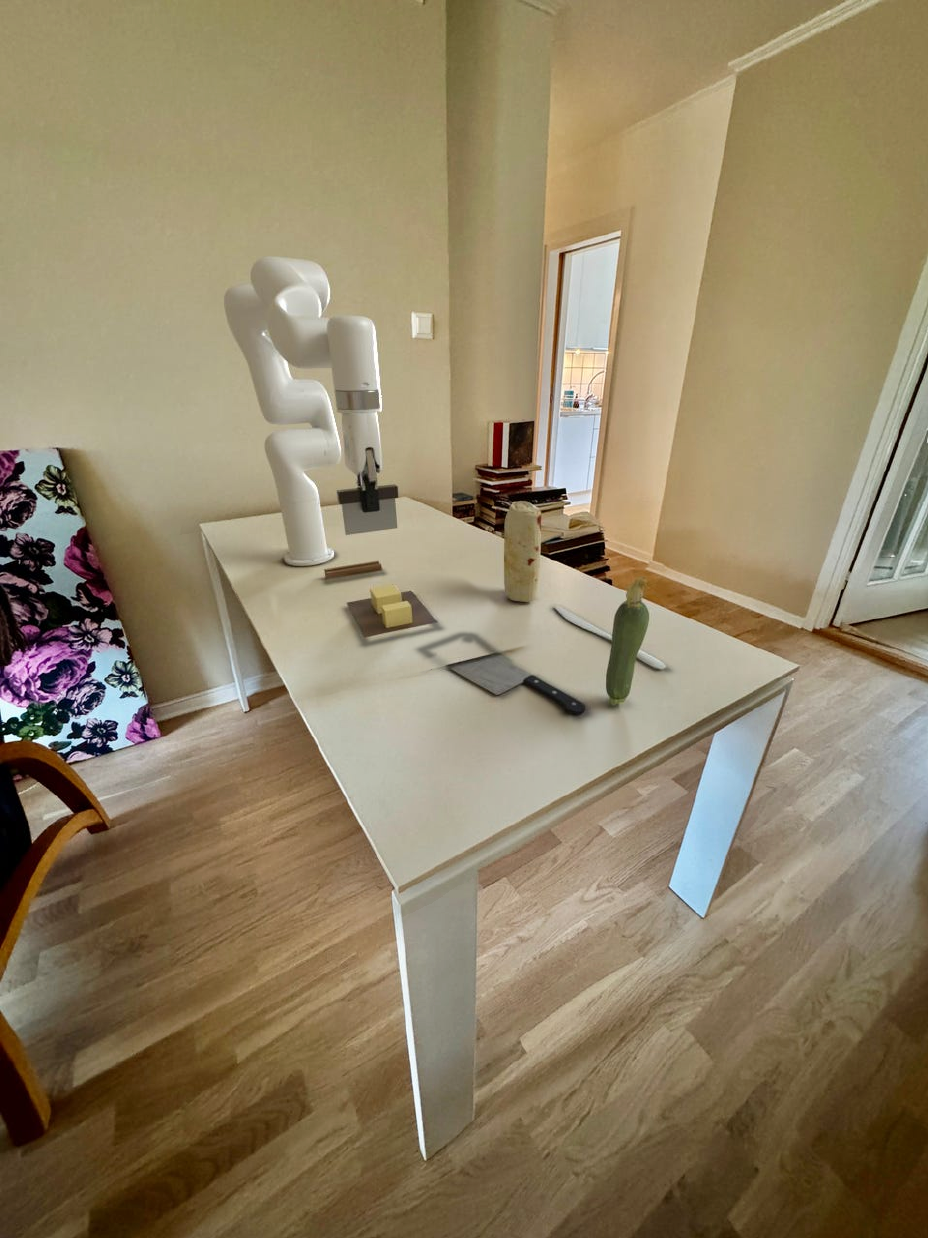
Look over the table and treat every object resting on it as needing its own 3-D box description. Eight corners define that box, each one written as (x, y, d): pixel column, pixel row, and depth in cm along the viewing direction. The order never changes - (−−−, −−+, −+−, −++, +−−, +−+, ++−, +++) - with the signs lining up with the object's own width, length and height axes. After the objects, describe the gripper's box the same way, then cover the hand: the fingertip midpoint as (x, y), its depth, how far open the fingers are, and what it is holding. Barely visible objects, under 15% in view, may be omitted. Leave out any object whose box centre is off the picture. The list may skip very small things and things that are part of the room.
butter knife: (655, 670, 76) (668, 664, 77) (548, 608, 97) (560, 603, 98) (655, 673, 76) (668, 667, 77) (548, 610, 97) (560, 606, 98)
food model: (545, 602, 100) (552, 507, 91) (518, 608, 98) (521, 511, 88) (521, 585, 108) (525, 496, 99) (495, 591, 106) (496, 500, 96)
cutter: (342, 533, 91) (336, 490, 87) (398, 526, 94) (395, 484, 90) (343, 536, 89) (338, 492, 85) (400, 528, 93) (397, 486, 89)
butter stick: (371, 604, 97) (369, 588, 96) (395, 599, 99) (394, 583, 97) (377, 614, 93) (375, 597, 92) (402, 609, 95) (401, 593, 93)
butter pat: (382, 622, 90) (381, 605, 88) (408, 617, 92) (407, 600, 90) (386, 628, 88) (384, 611, 86) (412, 622, 90) (411, 605, 88)
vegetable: (598, 693, 72) (615, 568, 63) (626, 691, 72) (648, 566, 63) (609, 711, 68) (629, 581, 59) (638, 709, 68) (663, 579, 59)
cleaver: (542, 738, 63) (592, 707, 68) (543, 734, 63) (592, 704, 68) (421, 649, 84) (466, 631, 89) (421, 647, 84) (466, 629, 89)
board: (347, 608, 99) (346, 602, 98) (412, 596, 104) (411, 590, 103) (365, 644, 86) (364, 637, 85) (438, 628, 91) (438, 621, 90)
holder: (325, 578, 114) (324, 569, 112) (379, 570, 118) (378, 560, 117) (327, 583, 111) (326, 573, 110) (382, 574, 116) (381, 564, 114)
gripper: (328, 400, 86) (341, 502, 95) (345, 406, 73) (358, 523, 82) (369, 398, 89) (378, 498, 97) (392, 404, 76) (400, 518, 85)
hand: (369, 509), depth 90 cm, fingers closed on cutter, 1 cm apart
